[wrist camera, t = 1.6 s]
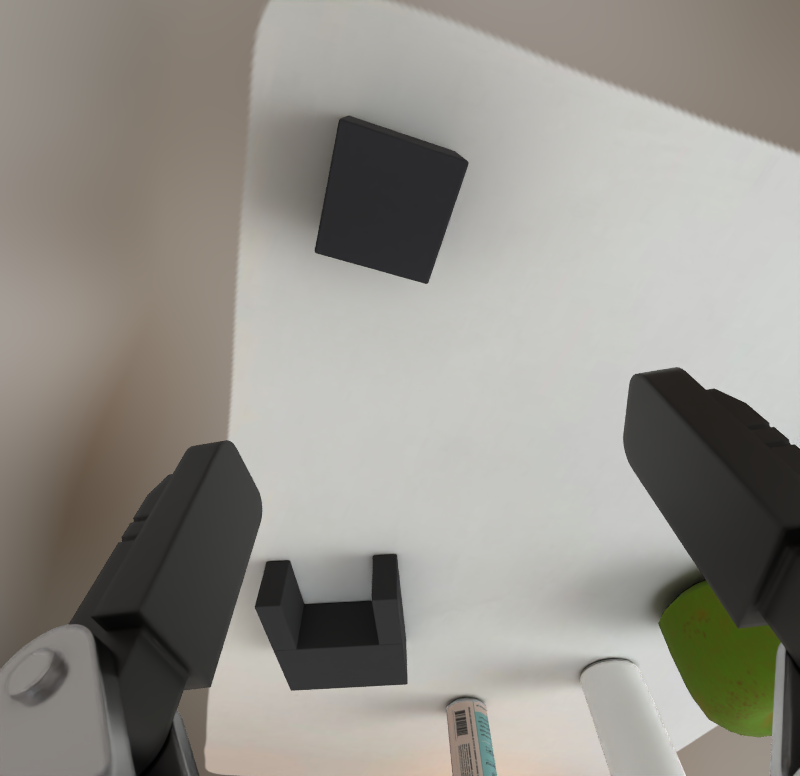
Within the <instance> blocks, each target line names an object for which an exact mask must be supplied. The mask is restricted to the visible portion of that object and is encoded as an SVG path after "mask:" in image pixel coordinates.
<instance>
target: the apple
mask: <svg viewBox="0 0 800 776" xmlns="http://www.w3.org/2000/svg"><path fill="white" fill-rule="evenodd" d="M658 624H659V626H660V629H661V631H662V634H663V636H664V639H665V641H666V643H667V646H668V648H669V651H670V653H671V656H672V658H673V660H674V662H675V664H676V666H677V668H678V670H679V672H680V675H681V677H682V679H683V681H684V683H685V685H686V687H687V689H688V691H689V692H690V694H691V696H692V698H693V699H694V700H695V702H696V703H697V704H698V706H699V707H700V708H701V710H702V711H703V712H704V713H705V715H706V716H707V717H708V719H709V720H711V721H713V722H714V723H716V724H718V725H720V726H722V727H724V728H725V729H727V730H729V731H731V732H734V733H737V734H740V735H744V736H753V737H764V736H772V726H773V708H774V690H775V672H776V654H777V649H778V647H779V645H780V643H781V641H780V640H779V639H778V637H777V636H776V635H775V633H774V632H773V630H772V629H771V628H770V626H769V625H764V626H756V627H747V628H737V626H736V625H735V623H734V622H733V620H732V619H731V617H730V616H729V614H728V613H727V611H726V610H725V608H724V607H723V605H722V604H721V602H720V601H719V599H718V598H717V596H716V594H715V593H714V591H713V590H712V588H711V587H710V585H709V584H708V582H707V581H706V580H705V581H702V582H700V583H697V584H695V585H693V586H692V587H690V588H689V589H687V590H685V591H684V592H683V593H682V594H681V595H679V596H678V597H677V598H676V599H675V600H674V601H673V602H672V603H671V605H670V606H669V607H668V608H667V609H666V610H665V611H664V612H663V614H662V616H661V618H660V621H659V623H658Z"/></svg>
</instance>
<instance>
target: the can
mask: <svg viewBox="0 0 800 776" xmlns="http://www.w3.org/2000/svg"><path fill="white" fill-rule="evenodd" d="M580 682H581V685H582V688H583V692H584V695H585V698H586V701H587V704H588V707H589V710H590V713H591V716H592V719H593V722H594V725H595V728H596V732H597V735H598V738H599V741H600V744H601V747H602V750H603V753H604V756H605V759H606V762H607V765H608V768H609V771H610V774H611V776H686V775H685V772H684V770H683V767H682V765H681V763H680V761H679V758H678V756H677V754H676V751H675V749H674V747H673V744H672V742H671V740H670V738H669V735H668V733H667V731H666V729H665V726H664V724H663V722H662V719H661V717H660V715H659V713H658V710H657V708H656V706H655V704H654V701H653V699H652V697H651V695H650V692H649V690H648V688H647V686H646V683H645V681H644V679H643V677H642V674H641V672H640V670H639V668H638V667H637V666H636V665H635V664H633V663H632V662H630V661H627V660H623V659H607V660H602V661H599V662H596V663H593V664H591V665H589V666H588V667H586V668H585V669H584V670H583V672H582V674H581V677H580Z"/></svg>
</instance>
